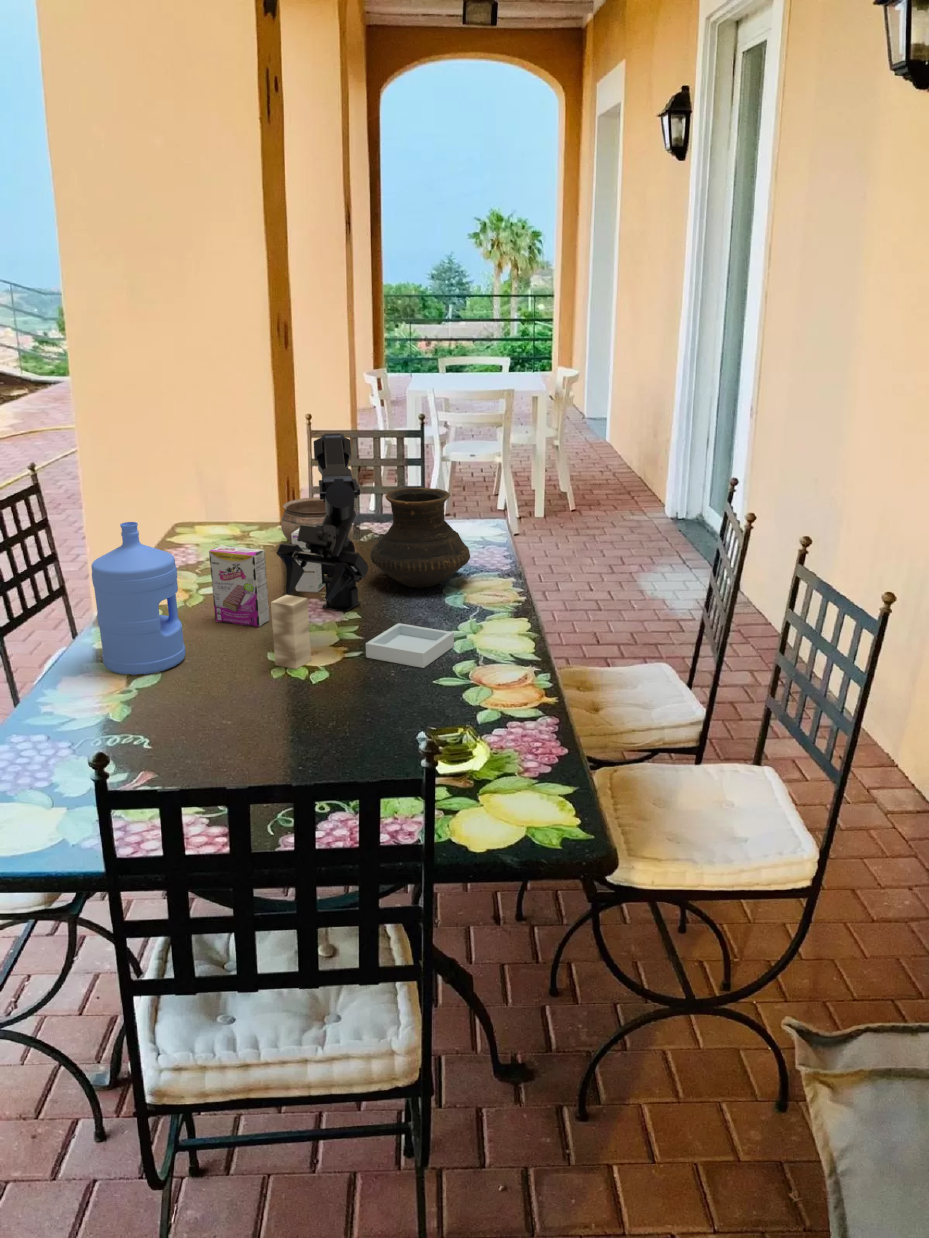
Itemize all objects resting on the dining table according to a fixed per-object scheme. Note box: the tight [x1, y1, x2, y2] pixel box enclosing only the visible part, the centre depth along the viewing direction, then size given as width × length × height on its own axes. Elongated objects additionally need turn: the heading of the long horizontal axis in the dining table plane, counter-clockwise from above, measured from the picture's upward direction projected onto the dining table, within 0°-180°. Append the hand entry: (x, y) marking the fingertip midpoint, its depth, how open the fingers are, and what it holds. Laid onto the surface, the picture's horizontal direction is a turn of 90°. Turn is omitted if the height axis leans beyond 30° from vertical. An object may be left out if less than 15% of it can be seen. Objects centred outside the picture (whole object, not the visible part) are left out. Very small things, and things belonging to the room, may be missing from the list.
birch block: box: [270, 594, 312, 670], centre depth 203 cm, size 5×5×13 cm
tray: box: [365, 622, 455, 669], centre depth 210 cm, size 13×13×3 cm
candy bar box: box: [208, 544, 271, 628], centre depth 225 cm, size 11×5×16 cm, turn 71°
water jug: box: [91, 521, 186, 676], centre depth 202 cm, size 16×16×28 cm
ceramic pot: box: [370, 487, 471, 588], centre depth 250 cm, size 24×24×22 cm
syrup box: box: [291, 529, 326, 593], centre depth 248 cm, size 6×6×14 cm
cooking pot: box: [280, 496, 353, 544], centre depth 281 cm, size 25×19×12 cm
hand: (307, 596), depth 206 cm, fingers open, 9 cm apart
